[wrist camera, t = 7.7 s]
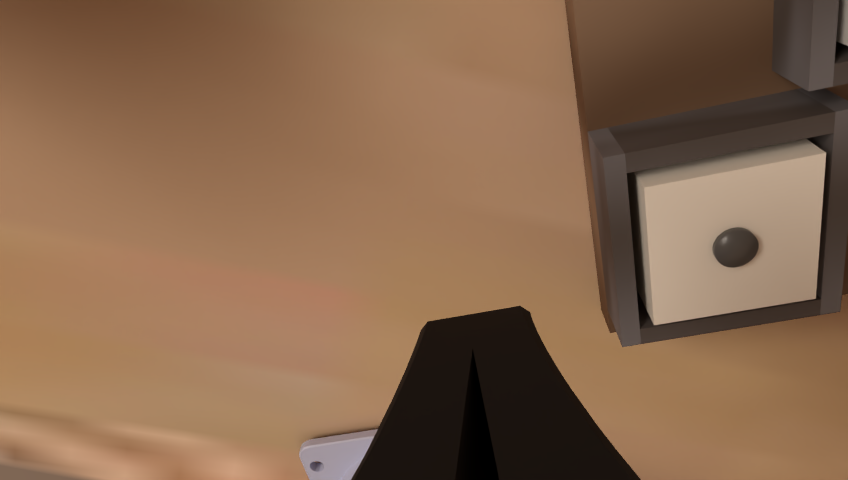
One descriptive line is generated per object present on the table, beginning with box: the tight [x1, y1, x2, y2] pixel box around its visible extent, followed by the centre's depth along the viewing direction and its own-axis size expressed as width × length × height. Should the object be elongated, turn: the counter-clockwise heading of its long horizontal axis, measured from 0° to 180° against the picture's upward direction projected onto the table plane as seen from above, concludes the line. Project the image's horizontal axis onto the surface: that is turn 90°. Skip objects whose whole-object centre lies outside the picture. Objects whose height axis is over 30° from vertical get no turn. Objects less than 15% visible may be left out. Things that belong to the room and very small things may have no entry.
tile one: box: [627, 138, 826, 325], centre depth 17 cm, size 4×4×2 cm
